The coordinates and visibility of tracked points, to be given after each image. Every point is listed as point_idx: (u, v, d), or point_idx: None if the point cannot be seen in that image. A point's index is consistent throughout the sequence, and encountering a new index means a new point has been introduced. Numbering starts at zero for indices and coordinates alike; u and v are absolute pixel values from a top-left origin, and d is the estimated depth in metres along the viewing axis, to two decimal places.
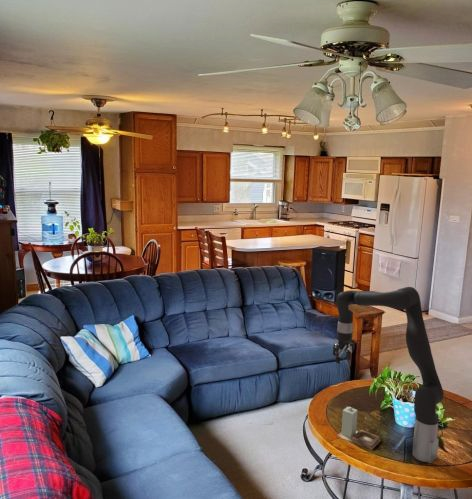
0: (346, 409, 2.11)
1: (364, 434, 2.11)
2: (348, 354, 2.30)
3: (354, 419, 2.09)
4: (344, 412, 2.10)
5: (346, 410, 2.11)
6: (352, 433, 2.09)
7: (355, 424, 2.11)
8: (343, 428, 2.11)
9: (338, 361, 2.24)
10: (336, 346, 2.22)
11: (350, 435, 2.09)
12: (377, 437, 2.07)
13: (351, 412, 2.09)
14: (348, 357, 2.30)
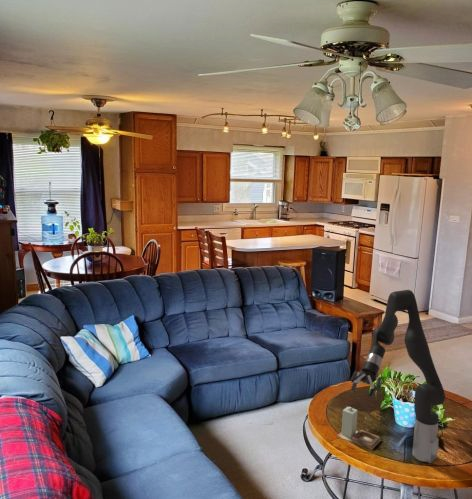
0: (346, 409, 2.11)
1: (364, 434, 2.11)
2: None
3: (354, 419, 2.09)
4: (344, 412, 2.10)
5: (346, 410, 2.11)
6: (352, 433, 2.09)
7: (355, 424, 2.11)
8: (343, 428, 2.11)
9: (352, 387, 2.22)
10: None
11: (350, 435, 2.09)
12: (377, 437, 2.07)
13: (351, 412, 2.09)
14: None
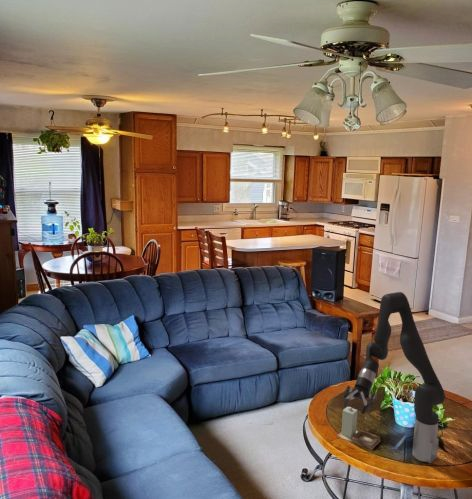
0: (346, 409, 2.11)
1: (364, 434, 2.11)
2: None
3: (354, 419, 2.09)
4: (344, 412, 2.10)
5: (346, 410, 2.11)
6: (352, 433, 2.09)
7: (355, 424, 2.11)
8: (343, 428, 2.11)
9: (344, 404, 2.17)
10: None
11: (350, 435, 2.09)
12: (377, 437, 2.07)
13: (351, 412, 2.09)
14: None
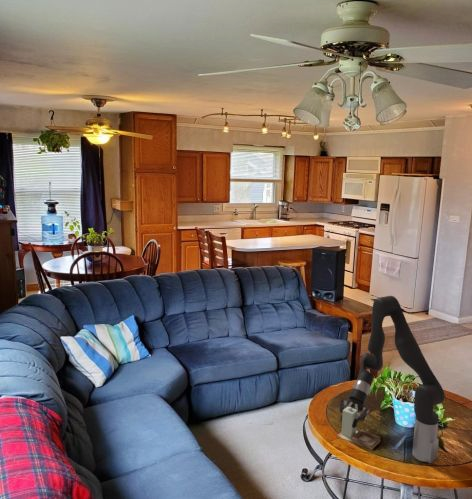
0: (346, 409, 2.11)
1: (364, 434, 2.11)
2: None
3: None
4: (344, 412, 2.10)
5: (346, 410, 2.11)
6: (352, 433, 2.09)
7: None
8: (343, 428, 2.11)
9: (341, 419, 2.12)
10: None
11: (350, 435, 2.09)
12: (377, 437, 2.07)
13: (351, 412, 2.09)
14: None
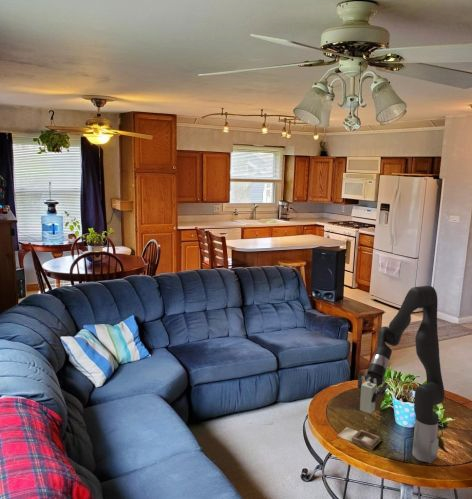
0: (364, 384, 2.04)
1: (364, 434, 2.11)
2: None
3: None
4: (363, 387, 2.02)
5: (364, 384, 2.03)
6: (371, 409, 2.02)
7: None
8: (362, 404, 2.03)
9: (359, 394, 2.05)
10: None
11: (369, 410, 2.01)
12: (377, 437, 2.07)
13: (370, 386, 2.01)
14: None
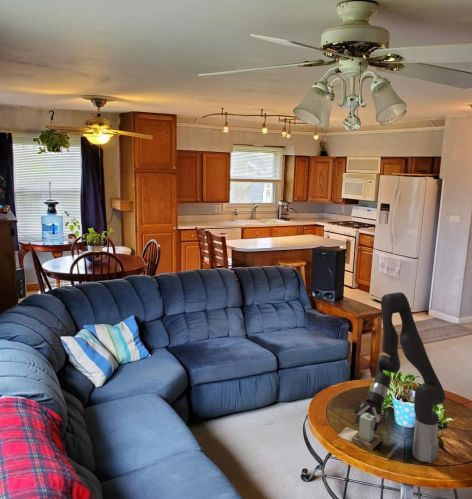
0: (363, 415, 2.06)
1: None
2: None
3: (372, 426, 2.04)
4: (361, 418, 2.04)
5: (363, 416, 2.05)
6: (369, 440, 2.04)
7: (373, 431, 2.06)
8: (360, 435, 2.06)
9: (356, 420, 2.08)
10: None
11: (368, 442, 2.04)
12: (377, 437, 2.07)
13: (369, 418, 2.03)
14: None
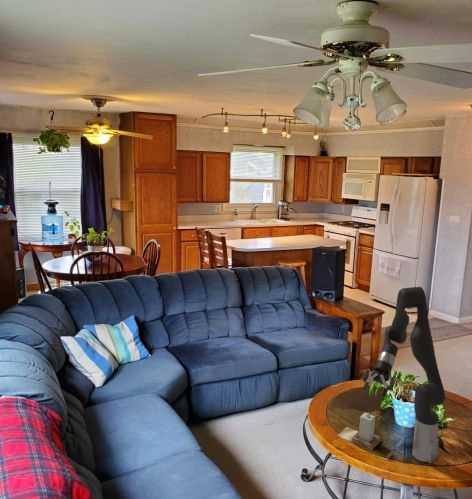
0: (363, 415, 2.06)
1: None
2: None
3: (372, 426, 2.04)
4: (361, 418, 2.04)
5: (363, 416, 2.05)
6: (369, 440, 2.04)
7: (373, 431, 2.06)
8: (360, 435, 2.06)
9: (364, 387, 2.17)
10: None
11: (368, 442, 2.04)
12: (377, 437, 2.07)
13: (369, 418, 2.03)
14: None
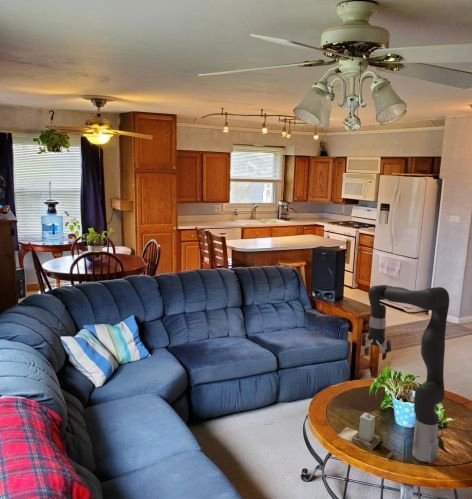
0: (363, 415, 2.06)
1: None
2: None
3: (372, 426, 2.04)
4: (361, 418, 2.04)
5: (363, 416, 2.05)
6: (369, 440, 2.04)
7: (373, 431, 2.06)
8: (360, 435, 2.06)
9: (365, 352, 2.25)
10: None
11: (368, 442, 2.04)
12: (377, 437, 2.07)
13: (369, 418, 2.03)
14: None
